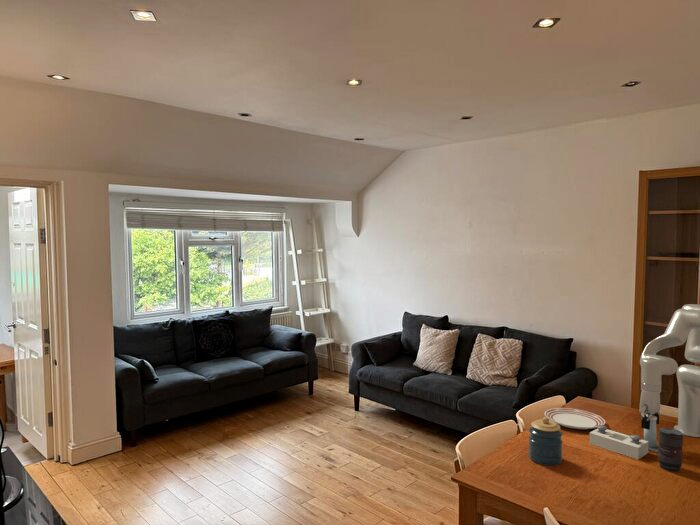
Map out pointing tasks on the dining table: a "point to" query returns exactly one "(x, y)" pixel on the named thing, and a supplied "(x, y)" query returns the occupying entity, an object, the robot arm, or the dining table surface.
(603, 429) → the plunger
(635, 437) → the plunger
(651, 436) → the cartridge
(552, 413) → the dinner plate
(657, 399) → the robot arm
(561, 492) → the dining table surface
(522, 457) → the dining table surface
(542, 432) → the canister
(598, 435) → the housing
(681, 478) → the dining table surface
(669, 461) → the camera lens
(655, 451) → the mat
